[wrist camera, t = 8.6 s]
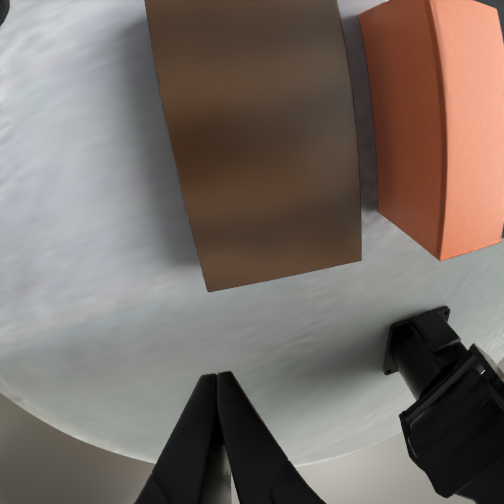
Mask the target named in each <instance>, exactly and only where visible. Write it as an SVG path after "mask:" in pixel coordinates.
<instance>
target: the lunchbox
mask: <svg viewBox="0 0 504 504" xmlns="http://www.w3.org/2000/svg"><path fill="white" fill-rule="evenodd" d="M358 17H359V22H360V27H361V32H362V37H363V43H364V48H365V54H366V61H367V67H368V74H369V81H370V89H371V97H372V106H373V116H374V127H375V139H376V154H377V173H378V212H379V213H380V214H381V215H383V216H384V217H385V218H387V219H388V220H389V221H391V222H392V223H393V224H395V225H396V226H397V227H398V228H400V229H401V230H402V231H404V232H405V233H406V234H407V235H409V236H410V237H411V238H412V239H414V240H415V241H416V242H417V243H419V244H420V245H421V246H422V247H423V248H425V249H426V250H427V251H428V252H429V253H431V254H432V255H433V256H434V257H435V258H437V259H438V260H439V261H442V260H446V259H449V258H452V257H456V256H459V255H462V254H465V253H469V252H472V251H475V250H478V249H481V248H485V247H488V246H491V245H494V244H497V243H500V242H501V236H502V230H503V224H504V43H503V37H502V32H501V27H500V22H499V18H498V13H497V9H495V8H493V7H490V6H488V5H485V4H483V3H480V2H477V1H474V0H389V1H387V2H384V3H382V4H380V5H378V6H375V7H373V8H371V9H369V10H367V11H365V12H363V13H361V14H359V15H358Z"/></svg>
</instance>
